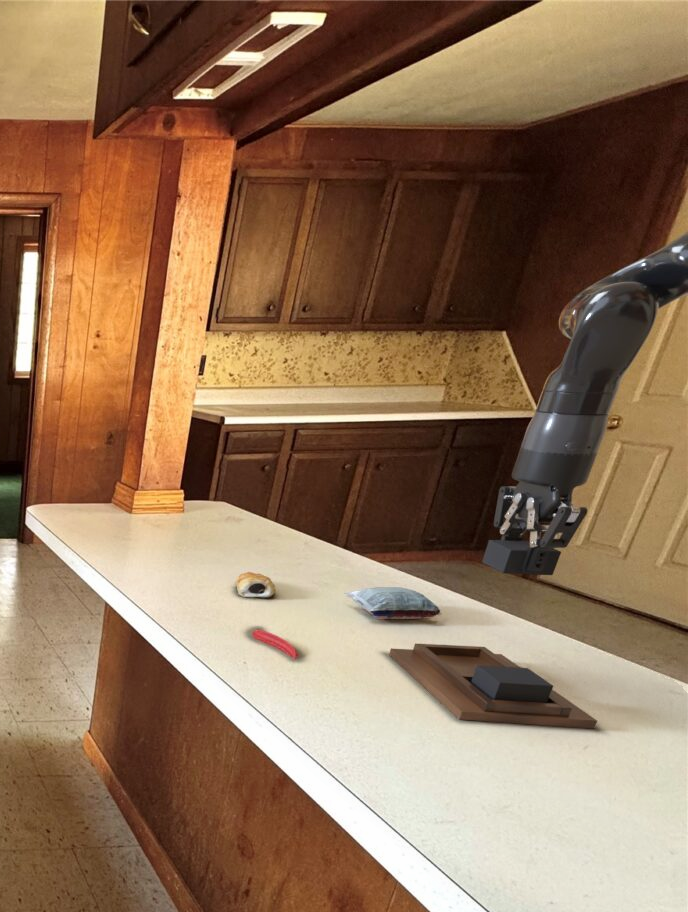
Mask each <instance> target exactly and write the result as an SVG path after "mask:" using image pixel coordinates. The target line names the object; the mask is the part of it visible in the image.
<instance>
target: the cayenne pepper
mask: <svg viewBox="0 0 688 912" xmlns="http://www.w3.org/2000/svg"><path fill="white" fill-rule="evenodd" d="M251 634H252V637H253V638H254V639H255V640H257V641H259V642H261V643H264V644H267V645H269V646H272V647H274V648H276V649H278V650H279V651H281V652H283V653H285V654H286V655H288V656H289V657H291V658H294V660H296V659H297V658H299V652H298V650H296V648H295V647H294V646H292V644H291V643H290V642H289V641H287V640H286V639H284V638H283V637H280V636H278V635H276V634H274V633H272V632H269V631H266V630H262V629H261V630H260V629H259V628H256V630H253V631H252V632H251Z"/></svg>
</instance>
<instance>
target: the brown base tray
mask: <svg viewBox="0 0 688 912" xmlns="http://www.w3.org/2000/svg"><path fill="white" fill-rule="evenodd" d="M388 656H389V657H390V658H391V659H393V660H394V662H396V663H397V664H398V665H399V666H400V667H401V668H402V669H404V670H405V671H406V673H408V674H409V675H410V676H411V677H412V678H413V679H414V680H415V681H417V682H418V683H419V684H420V685H421V687H423V688H424V689H425V690H426V691H428V692H429V693H430V695H432V696H433V697H434V698H435V699H436V700H437V701H438V702H439V703H441V705H443V706H444V708H446V709H447V710H448V711H449V712H450V713H451V714H453V715H454V716H455V717H456V718H457V719H458V720H462V721H474V722H475V721H476V722H477V721H478V722H491V723H504V724H520V725H533V726H534V725H535V726H549V727H562V728H577V729H593V730H594V729H595V728H596V726H597V724H598V720H597V719H596V718H595V717H593V716H592V715H590V714H589V713H587V712H586V711H584V710H583V709H581V708H580V707H579V706H577V705H576V704H574V703H573V702H571V701H570V700H569V699H567V698H566V697H564V696H562V695H561V694H560V693H559V692H557V691H555V690H554V689H552V691H551V693H550V696H549V698H548V701H547V703H535V702H519V701H503V700H491V699H490V698H488V697H487V696H486V695H485V694H483V693H482V692H481V691H480V690H478V689H477V688H476V687H475V686H474V685H472V684H471V681H472V678H473V675H474V672H475V669H476V666H477V665H482V666H501V667H519V668H522V667H521V666H519V665H518V664H516V663H515V662H513V661H512V660H511V659H509V658H508V657H506V656H505V655H503V654H501V653H495V652H493V651H491V650H490V649H488V648H487V647H486V646H475V645H453V644H452V645H451V644H435V643H414V645H413V649H411V648H407V649H406V648H390V651H389V654H388Z"/></svg>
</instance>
